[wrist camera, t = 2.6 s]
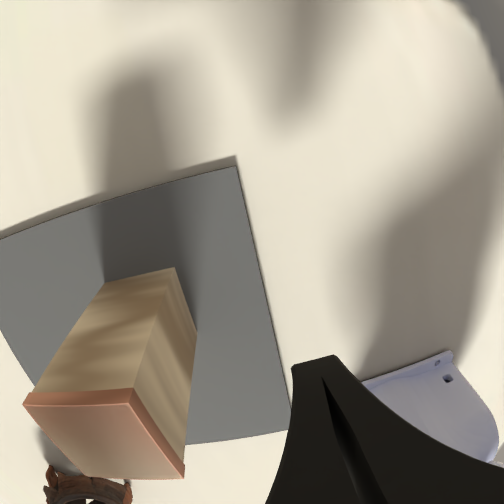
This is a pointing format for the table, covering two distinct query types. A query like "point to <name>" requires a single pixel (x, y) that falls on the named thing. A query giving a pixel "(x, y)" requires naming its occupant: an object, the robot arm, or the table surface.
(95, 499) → the brown curved piece
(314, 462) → the robot arm
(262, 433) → the charcoal mat
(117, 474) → the maple block
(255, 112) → the table surface
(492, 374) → the table surface
